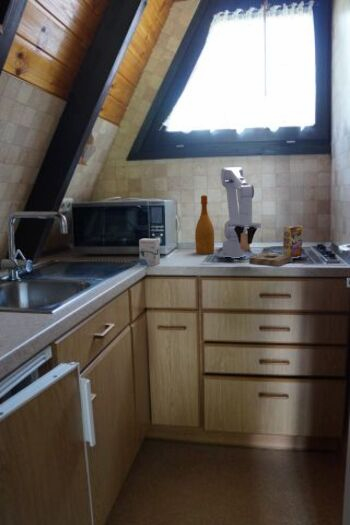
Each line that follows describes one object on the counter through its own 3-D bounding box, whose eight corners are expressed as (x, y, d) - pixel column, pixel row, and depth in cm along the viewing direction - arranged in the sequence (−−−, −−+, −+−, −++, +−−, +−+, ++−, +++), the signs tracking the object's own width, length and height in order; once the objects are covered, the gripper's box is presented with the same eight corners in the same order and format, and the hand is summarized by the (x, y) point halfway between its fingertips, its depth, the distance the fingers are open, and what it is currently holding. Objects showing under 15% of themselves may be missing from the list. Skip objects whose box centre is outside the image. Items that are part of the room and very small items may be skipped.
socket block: (249, 263, 193) (249, 257, 193) (263, 258, 204) (263, 253, 204) (278, 266, 185) (278, 260, 185) (291, 260, 196) (291, 255, 195)
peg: (238, 249, 191) (238, 233, 189) (243, 248, 194) (243, 232, 192) (246, 250, 188) (246, 234, 187) (251, 248, 191) (251, 233, 190)
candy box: (289, 260, 197) (290, 227, 194) (282, 259, 201) (282, 226, 198) (302, 257, 202) (303, 225, 199) (295, 256, 206) (295, 225, 203)
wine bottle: (217, 252, 225) (217, 194, 219) (208, 255, 217) (208, 195, 211) (201, 250, 230) (200, 194, 224) (192, 253, 222) (190, 195, 216)
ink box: (139, 264, 198) (138, 239, 195) (143, 262, 202) (142, 238, 200) (156, 265, 195) (155, 240, 193) (160, 263, 200) (159, 238, 197)
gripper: (226, 213, 189) (226, 243, 192) (255, 214, 180) (255, 245, 183) (234, 211, 195) (234, 241, 197) (263, 212, 186) (263, 243, 188)
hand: (245, 243), depth 190 cm, fingers closed on peg, 4 cm apart
